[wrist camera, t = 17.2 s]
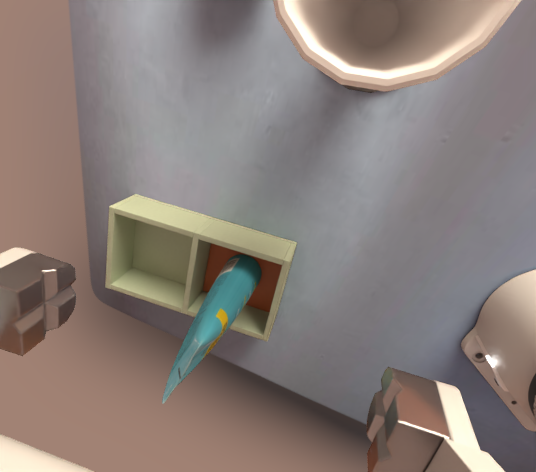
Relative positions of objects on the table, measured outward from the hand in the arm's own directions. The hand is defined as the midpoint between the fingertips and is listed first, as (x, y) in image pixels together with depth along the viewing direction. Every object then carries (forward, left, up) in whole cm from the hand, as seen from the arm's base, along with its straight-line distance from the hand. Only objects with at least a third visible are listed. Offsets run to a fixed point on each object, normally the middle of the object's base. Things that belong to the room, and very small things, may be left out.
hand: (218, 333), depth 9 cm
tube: (-9, +16, -33) cm, 38 cm away
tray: (-5, +20, -34) cm, 40 cm away
